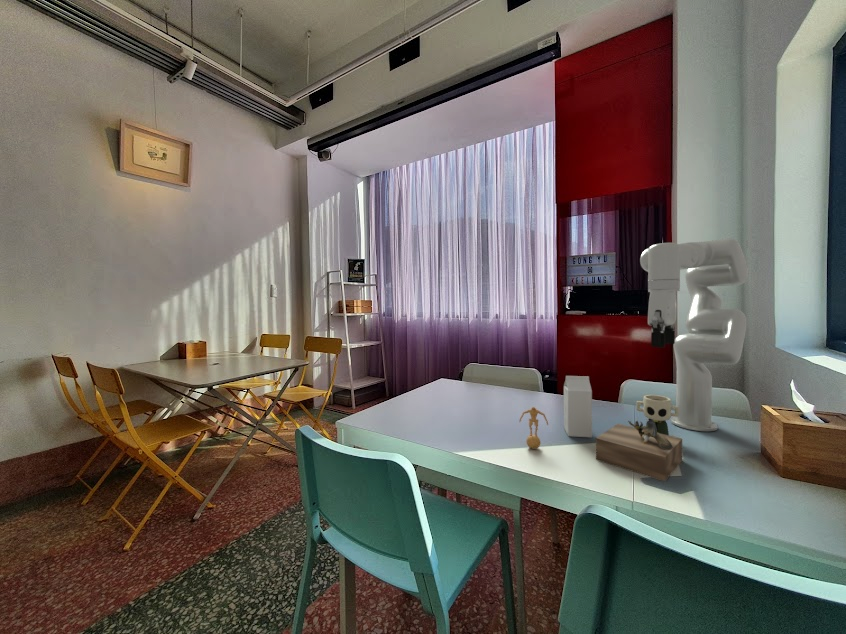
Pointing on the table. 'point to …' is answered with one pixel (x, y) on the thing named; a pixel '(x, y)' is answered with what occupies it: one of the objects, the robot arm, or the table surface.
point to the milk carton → (578, 406)
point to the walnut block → (638, 452)
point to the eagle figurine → (652, 434)
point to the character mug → (658, 411)
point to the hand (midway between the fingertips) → (663, 345)
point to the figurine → (533, 439)
